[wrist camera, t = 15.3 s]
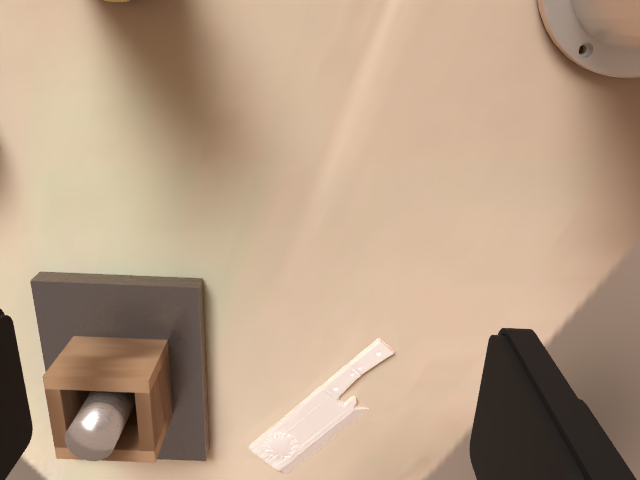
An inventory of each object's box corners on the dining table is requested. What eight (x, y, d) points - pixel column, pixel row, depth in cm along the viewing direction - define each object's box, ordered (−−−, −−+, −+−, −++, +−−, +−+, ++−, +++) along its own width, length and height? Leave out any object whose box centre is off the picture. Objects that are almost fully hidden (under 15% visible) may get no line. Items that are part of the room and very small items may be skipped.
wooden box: (167, 340, 42) (148, 380, 37) (172, 415, 45) (155, 462, 40) (73, 336, 42) (42, 376, 37) (84, 411, 45) (56, 458, 40)
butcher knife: (421, 372, 45) (423, 381, 44) (291, 472, 49) (291, 482, 48) (378, 334, 44) (380, 342, 43) (249, 440, 48) (247, 450, 47)
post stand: (202, 278, 42) (174, 340, 34) (209, 447, 48) (186, 534, 40) (40, 271, 42) (-26, 333, 34) (67, 442, 48) (17, 527, 40)
